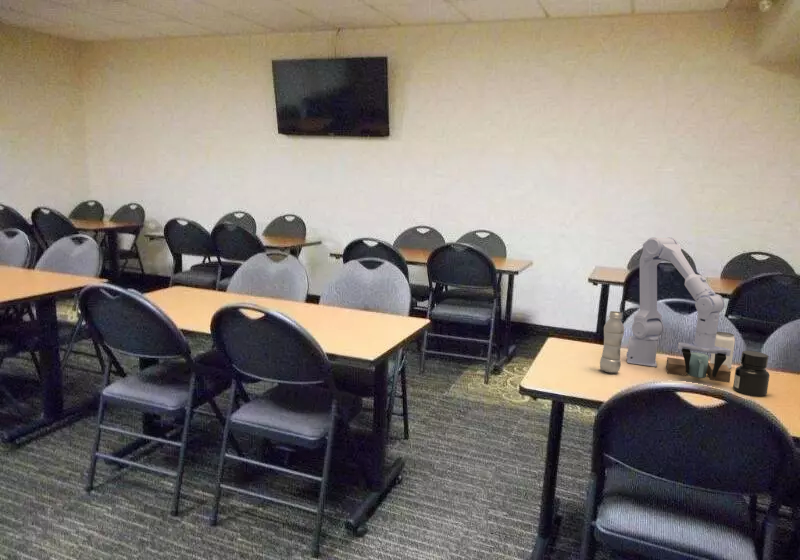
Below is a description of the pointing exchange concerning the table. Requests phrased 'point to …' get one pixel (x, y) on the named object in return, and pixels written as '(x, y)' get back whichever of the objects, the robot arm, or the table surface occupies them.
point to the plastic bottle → (612, 343)
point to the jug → (698, 365)
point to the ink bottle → (752, 374)
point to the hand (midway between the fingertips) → (700, 374)
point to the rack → (722, 375)
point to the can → (724, 346)
